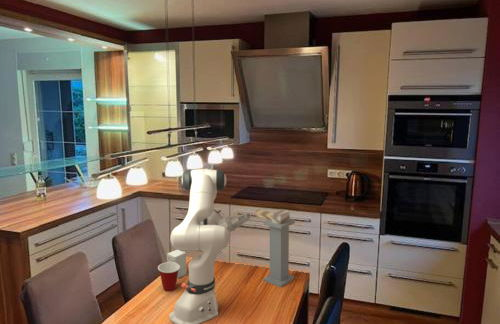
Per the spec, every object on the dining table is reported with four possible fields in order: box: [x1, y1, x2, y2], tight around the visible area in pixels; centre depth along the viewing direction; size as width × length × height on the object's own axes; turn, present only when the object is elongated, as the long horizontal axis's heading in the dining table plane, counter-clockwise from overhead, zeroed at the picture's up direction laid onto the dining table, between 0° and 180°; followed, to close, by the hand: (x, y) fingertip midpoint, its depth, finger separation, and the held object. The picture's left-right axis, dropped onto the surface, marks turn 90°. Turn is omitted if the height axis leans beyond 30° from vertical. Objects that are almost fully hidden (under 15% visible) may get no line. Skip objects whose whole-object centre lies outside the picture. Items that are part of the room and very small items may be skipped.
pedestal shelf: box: [263, 218, 296, 288], centre depth 189 cm, size 12×11×32 cm
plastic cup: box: [157, 262, 180, 292], centre depth 182 cm, size 11×11×12 cm
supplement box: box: [166, 249, 188, 280], centre depth 197 cm, size 7×7×13 cm
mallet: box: [254, 208, 291, 224], centre depth 189 cm, size 18×8×5 cm, turn 50°
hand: (244, 216), depth 202 cm, fingers open, 8 cm apart
